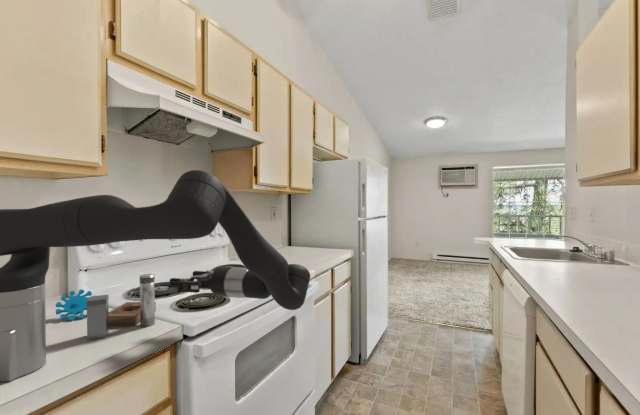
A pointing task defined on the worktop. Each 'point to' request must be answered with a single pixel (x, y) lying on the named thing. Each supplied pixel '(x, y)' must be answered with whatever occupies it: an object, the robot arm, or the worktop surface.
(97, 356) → the worktop surface
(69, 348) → the worktop surface
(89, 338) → the square bit
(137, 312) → the socket plate
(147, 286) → the silver capped cylinder
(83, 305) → the blue virus model
